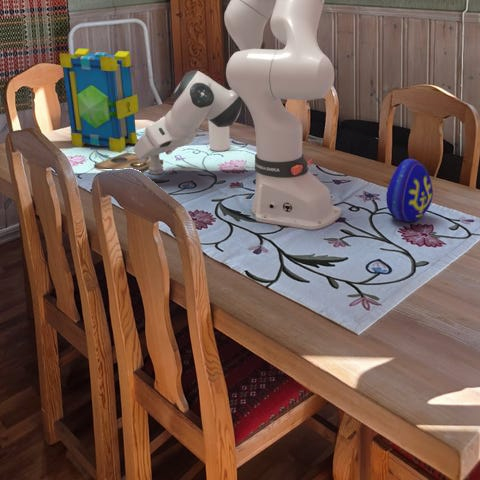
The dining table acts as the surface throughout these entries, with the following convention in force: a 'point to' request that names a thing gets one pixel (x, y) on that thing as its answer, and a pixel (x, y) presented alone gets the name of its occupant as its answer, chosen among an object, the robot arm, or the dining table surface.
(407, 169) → the ornament
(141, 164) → the brass bolt head
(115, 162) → the gauge board
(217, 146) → the can
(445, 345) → the dining table surface
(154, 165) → the white chess piece
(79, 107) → the decorative book
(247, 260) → the dining table surface
